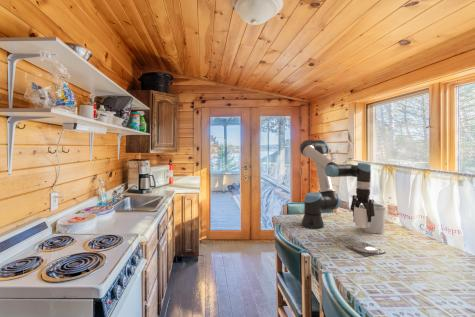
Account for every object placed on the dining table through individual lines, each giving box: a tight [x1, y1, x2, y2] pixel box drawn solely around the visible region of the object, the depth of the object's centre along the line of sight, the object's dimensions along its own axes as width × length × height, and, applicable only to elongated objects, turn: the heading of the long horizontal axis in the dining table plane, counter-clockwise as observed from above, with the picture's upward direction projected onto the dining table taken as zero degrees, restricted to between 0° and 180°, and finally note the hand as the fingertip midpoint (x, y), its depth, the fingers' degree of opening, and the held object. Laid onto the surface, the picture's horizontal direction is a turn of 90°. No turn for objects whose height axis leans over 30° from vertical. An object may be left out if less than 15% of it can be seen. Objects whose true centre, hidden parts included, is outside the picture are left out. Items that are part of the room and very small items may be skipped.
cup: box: [354, 205, 367, 229], centre depth 151 cm, size 9×9×12 cm
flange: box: [344, 241, 387, 258], centre depth 135 cm, size 14×14×2 cm
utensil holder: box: [360, 202, 386, 235], centre depth 167 cm, size 15×15×18 cm
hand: (361, 224), depth 151 cm, fingers closed on cup, 9 cm apart
